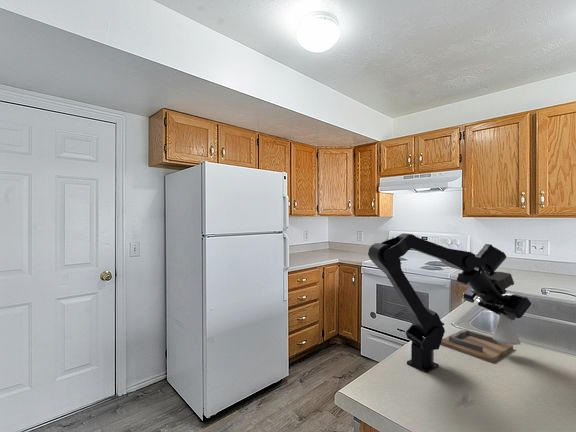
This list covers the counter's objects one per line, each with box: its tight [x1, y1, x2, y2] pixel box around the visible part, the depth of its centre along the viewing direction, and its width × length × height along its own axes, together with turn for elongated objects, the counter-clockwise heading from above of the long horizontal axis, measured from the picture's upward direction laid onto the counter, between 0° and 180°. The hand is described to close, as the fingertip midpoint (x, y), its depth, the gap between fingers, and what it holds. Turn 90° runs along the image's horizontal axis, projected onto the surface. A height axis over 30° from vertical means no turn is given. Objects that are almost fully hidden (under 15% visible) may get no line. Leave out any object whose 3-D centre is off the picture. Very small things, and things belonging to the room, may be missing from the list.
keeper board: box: [440, 328, 514, 364], centre depth 100 cm, size 16×16×3 cm
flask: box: [491, 307, 522, 346], centre depth 93 cm, size 7×7×10 cm
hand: (509, 317), depth 94 cm, fingers closed on flask, 3 cm apart
